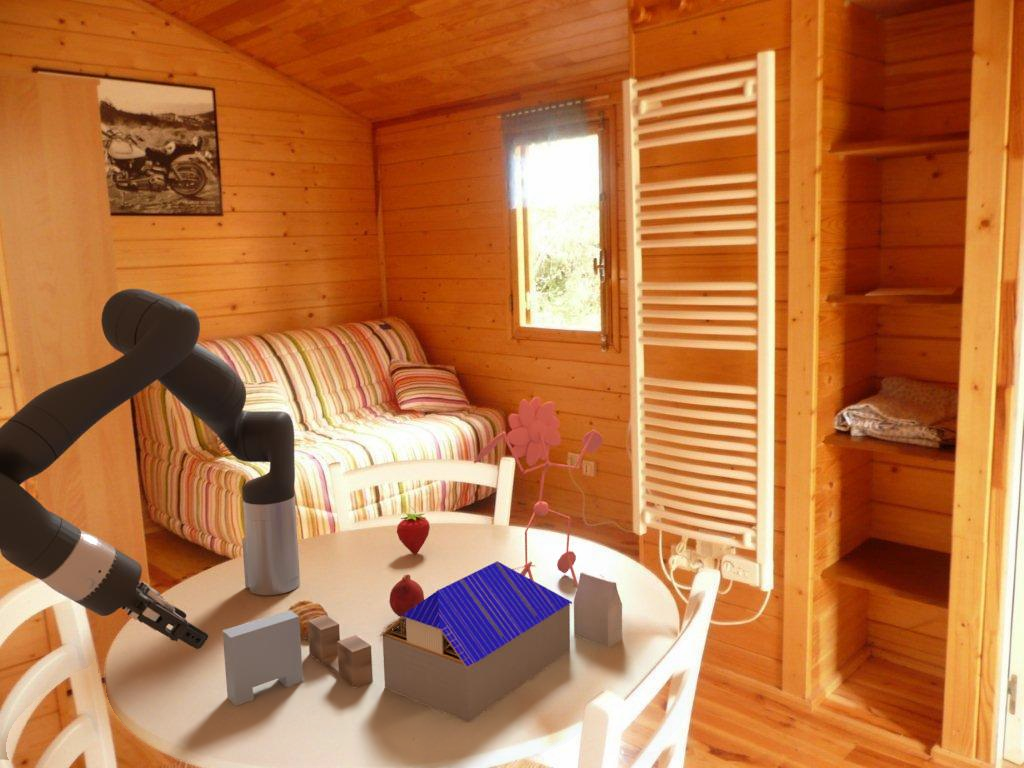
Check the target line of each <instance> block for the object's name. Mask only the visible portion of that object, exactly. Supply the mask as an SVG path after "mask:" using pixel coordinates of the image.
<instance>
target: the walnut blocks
mask: <svg viewBox="0 0 1024 768" xmlns="http://www.w3.org/2000/svg"><path fill="white" fill-rule="evenodd" d="M328 616H329V615H328ZM328 616H326V615H323V616H320V617H317V618H314V619H310V620H308V637H309V640H308V651H309V655H310V656H312V657H313V658H314V659H315V660H317V661H318V662H320V663H321V664H322V665H323V666H325V667H326V668H327V669H329V670H330V671H331V672H332V673H334V675H337V676H338V677H339V678H340V679H342V680H343V681H344V682H346V683H347V684H348V685H350V687H352V688H353V689H356V688H359V687H361V686H364V685H366V684H369V683H372V682H374V679H373V661H372V660H373V659H372V658H373V657H372V656H373V655H372V645H371V644H370V643H368V642H366V641H365V640H363V639H362V638H360V637H359V636H357V635H355V634H354V635H352V636H349V637H346V638H342V639H341V633H340V623H338V622H337V621H335V620H333V619H332V618H331V617H328Z"/></svg>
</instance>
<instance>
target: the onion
mask: <svg viewBox="0 0 1024 768" xmlns="http://www.w3.org/2000/svg"><path fill="white" fill-rule="evenodd" d="M423 600H425V594H424V590H423V587H422V586H421V585H420V584H419V583H418V582H417V581H415V580H413V579H411V574H409V573H405V574H404V575H403V576H402V578H401V580H400V581H398V582H397V583H396V584H395V585H394V586H393V587H392V588H391V590H390V593H389V606H390V609H391V610H392V612H394V614H395V615H396V616H397V617H399V618H400V617H401V616H402V615H403V614H405V613H406V612H408V611H409V610H411V609H412V608H413V607H415V606H416V605H418V604H419V603H420V602H422V601H423Z"/></svg>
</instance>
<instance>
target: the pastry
mask: <svg viewBox="0 0 1024 768" xmlns="http://www.w3.org/2000/svg"><path fill="white" fill-rule="evenodd" d="M288 610H291V611H292V612H294V613H295V614H296V615H298V616H299V624H300V639H301V640H302V639H303V640H308V641H309V637H308V620H310V619H314V618H317V617H320V616H323V615H326V616H328V617H329V614H328V613H327V611H326V610H325V608H324V607H323V606H322V605H321V604H320V603H314V602H313V601H310V600H299V601H297V602H296V603H295V604H293V605H291V606H290V607H289V608H288ZM288 610H287V611H288ZM329 618H330V617H329Z"/></svg>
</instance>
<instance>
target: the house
mask: <svg viewBox="0 0 1024 768" xmlns="http://www.w3.org/2000/svg"><path fill="white" fill-rule="evenodd" d="M520 573H521V572H519V571H516V569H514V568H511V567H509V566H507V565H506V564H503V563H502V562H500V561H498V560H497V561H494V562H493V563H491V564H488V565H487V566H484V567H483V568H481V569H478V570H477V571H475V572H472V573H471V574H468V575H466V576H464V577H462V578H460V579H458V580H455V581H454V582H452V583H450V584H448V585H446V586H444V587H442V588H440V589H439V588H438V589H437V590H436V591H435V592H433V593H431V595H429V596H428V597H425V598H424V600H423V601H422V602H420V603H419V604H418V605H416V606H415V607H413V608H412V609H411V610H409V611H408V612H406V613H405V614H403V615H402V616H401V617H399V618H398V619H396V620H395V621H394V622H393V623H392V624H390V626H388V628H386V629H385V630H384V631H383V632H382V633H381V634H379V638H380V637H381V638H382V652H383V655H382V656H383V674H384V675H383V677H384V689H385V690H388V691H392V692H393V693H396V694H397V695H401V696H403V697H405V698H408V699H410V700H413V701H415V702H417V703H420V704H422V705H425V706H428V707H430V708H432V709H435V710H437V711H440V712H441V713H442V712H443V713H444V714H447V715H449V716H451V717H454V718H456V719H459V720H461V721H464V722H465V723H466V722H467V723H468V724H469V723H471V721H473V720H474V719H477V717H479V716H480V715H482V714H483V713H484V712H486V711H487V710H489V709H490V708H492V707H493V706H494V705H496V704H497V703H499V702H500V701H501V700H503V699H505V697H507V696H508V695H510V694H511V693H513V692H514V691H515V690H517V689H518V688H520V687H521V686H522V685H524V684H525V683H526V682H528V681H530V680H531V679H532V678H534V677H535V676H537V675H538V674H539V673H541V672H542V671H544V670H545V669H546V667H547V668H548V667H549V666H551V665H553V663H555V662H557V661H558V660H559V659H561V658H562V657H564V656H565V655H566V654H568V653H570V651H571V631H570V630H571V627H570V625H571V615H570V611H571V610H570V609H571V605H572V604H573V601H571V600H570V599H567V598H566V597H564V596H562V595H560V594H558V593H557V592H555V591H553V590H551V589H549V588H547V587H546V586H544V585H542V584H540V583H538V582H537V581H535V580H534V579H533V580H534V581H533V580H531V579H530V577H529V578H528V577H527V576H526V575H525V576H524V575H522V574H520ZM570 604H571V605H570Z"/></svg>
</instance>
